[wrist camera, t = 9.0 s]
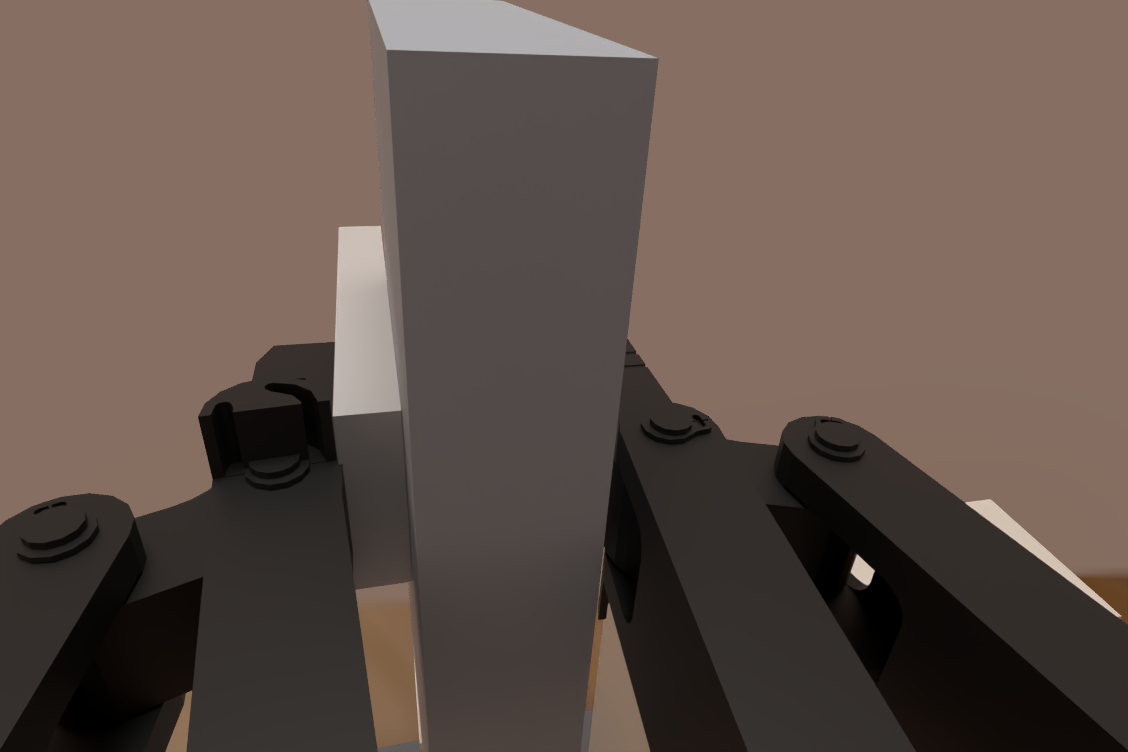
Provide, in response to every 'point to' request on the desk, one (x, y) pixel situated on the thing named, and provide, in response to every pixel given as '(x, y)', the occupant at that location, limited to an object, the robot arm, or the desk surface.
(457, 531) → the slate domino
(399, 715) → the desk surface
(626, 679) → the domino
